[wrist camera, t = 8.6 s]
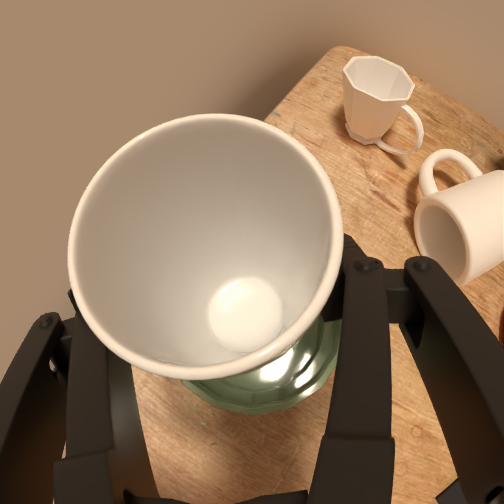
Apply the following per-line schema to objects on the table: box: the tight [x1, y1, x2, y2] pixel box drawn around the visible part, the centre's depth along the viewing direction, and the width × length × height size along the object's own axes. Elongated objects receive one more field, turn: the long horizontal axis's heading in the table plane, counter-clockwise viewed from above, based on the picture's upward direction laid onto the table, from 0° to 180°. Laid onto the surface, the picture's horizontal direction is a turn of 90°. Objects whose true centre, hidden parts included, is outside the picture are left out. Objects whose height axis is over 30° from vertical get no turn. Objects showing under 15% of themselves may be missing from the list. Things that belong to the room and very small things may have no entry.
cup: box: [343, 56, 424, 157], centre depth 28 cm, size 7×10×8 cm
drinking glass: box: [67, 114, 344, 380], centre depth 14 cm, size 7×7×15 cm
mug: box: [414, 149, 504, 287], centre depth 24 cm, size 12×10×8 cm
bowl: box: [180, 313, 342, 415], centre depth 24 cm, size 13×13×5 cm
